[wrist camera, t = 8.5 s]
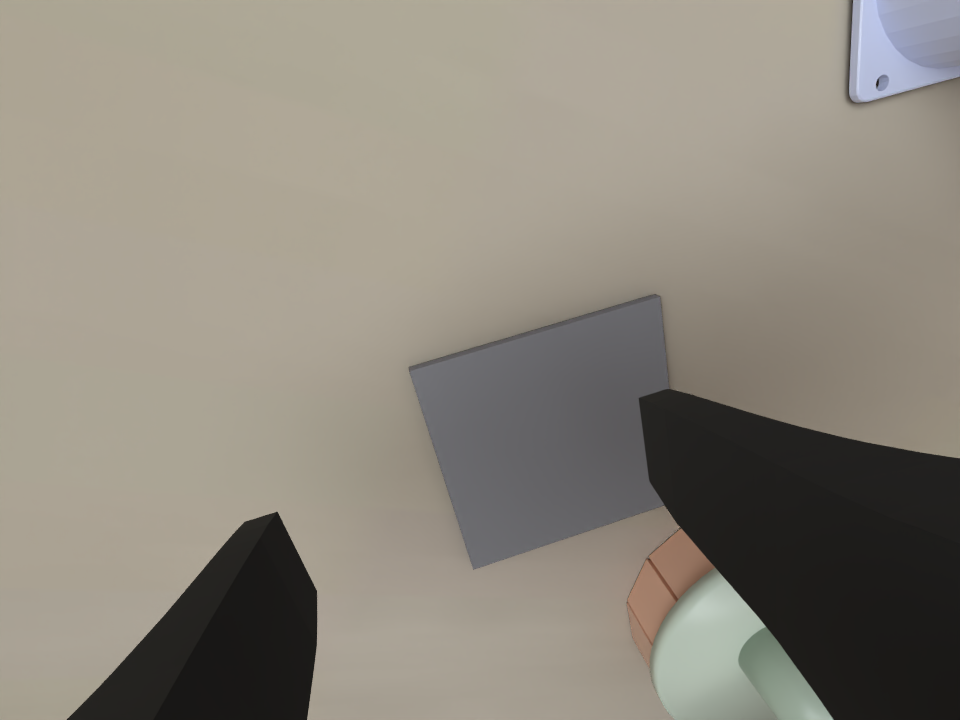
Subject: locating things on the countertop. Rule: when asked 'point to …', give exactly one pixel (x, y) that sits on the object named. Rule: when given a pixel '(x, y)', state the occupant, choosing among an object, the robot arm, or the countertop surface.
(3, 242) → the countertop surface
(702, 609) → the lid
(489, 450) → the mat
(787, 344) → the countertop surface
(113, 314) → the countertop surface
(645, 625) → the bowl
